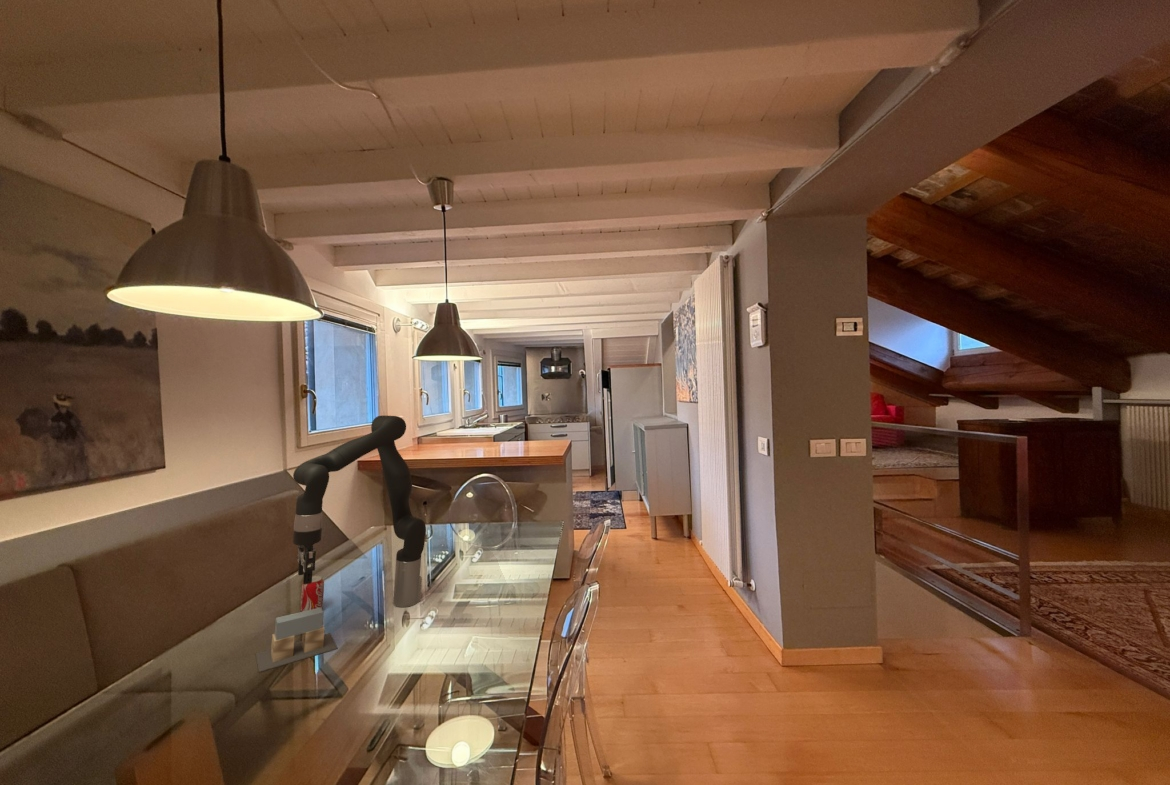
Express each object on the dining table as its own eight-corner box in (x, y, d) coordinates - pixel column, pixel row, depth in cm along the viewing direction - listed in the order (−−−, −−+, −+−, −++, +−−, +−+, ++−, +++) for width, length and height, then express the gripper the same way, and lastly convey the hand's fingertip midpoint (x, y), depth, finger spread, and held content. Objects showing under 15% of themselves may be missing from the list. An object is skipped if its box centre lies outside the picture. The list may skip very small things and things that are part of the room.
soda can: (311, 617, 154) (313, 583, 154) (294, 614, 155) (297, 581, 155) (326, 608, 161) (329, 576, 161) (310, 605, 162) (313, 573, 162)
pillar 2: (319, 640, 139) (321, 621, 140) (323, 647, 136) (324, 628, 136) (301, 645, 136) (303, 626, 136) (304, 652, 132) (306, 633, 132)
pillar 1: (290, 648, 134) (291, 629, 134) (293, 656, 130) (294, 636, 130) (270, 654, 131) (272, 634, 131) (272, 662, 127) (274, 641, 127)
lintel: (320, 622, 139) (321, 607, 139) (322, 628, 136) (323, 612, 136) (274, 634, 131) (275, 617, 131) (276, 640, 128) (277, 623, 128)
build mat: (330, 633, 144) (330, 632, 144) (337, 648, 136) (337, 647, 136) (255, 654, 131) (255, 653, 131) (259, 672, 122) (259, 671, 122)
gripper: (326, 530, 132) (323, 583, 132) (317, 520, 143) (313, 569, 142) (297, 535, 127) (294, 590, 127) (290, 523, 138) (286, 574, 137)
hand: (304, 578), depth 135 cm, fingers open, 8 cm apart
